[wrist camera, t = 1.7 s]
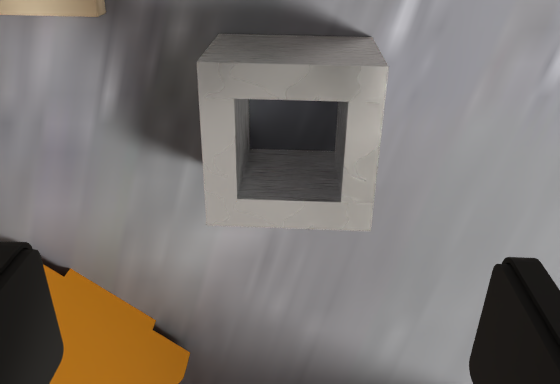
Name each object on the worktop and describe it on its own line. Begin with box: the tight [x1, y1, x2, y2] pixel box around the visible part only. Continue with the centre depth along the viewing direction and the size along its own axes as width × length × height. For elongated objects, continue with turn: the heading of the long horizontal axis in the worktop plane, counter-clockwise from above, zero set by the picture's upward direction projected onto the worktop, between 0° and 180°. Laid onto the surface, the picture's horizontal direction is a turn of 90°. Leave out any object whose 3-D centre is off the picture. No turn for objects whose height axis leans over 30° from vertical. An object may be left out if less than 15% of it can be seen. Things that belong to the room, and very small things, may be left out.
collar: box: [197, 34, 389, 231], centre depth 21 cm, size 6×6×5 cm
